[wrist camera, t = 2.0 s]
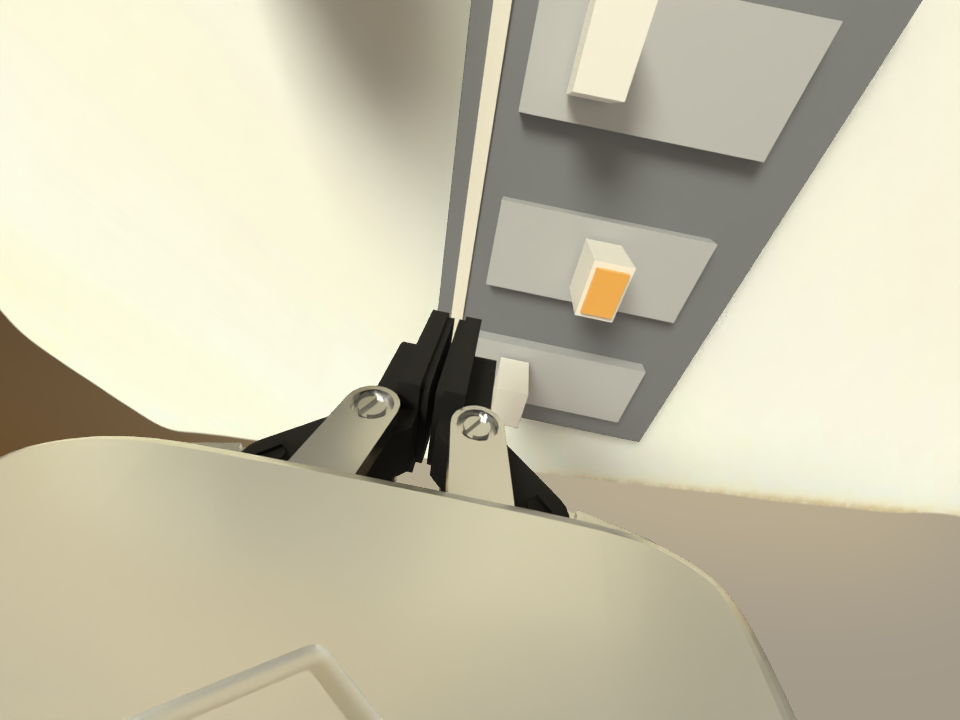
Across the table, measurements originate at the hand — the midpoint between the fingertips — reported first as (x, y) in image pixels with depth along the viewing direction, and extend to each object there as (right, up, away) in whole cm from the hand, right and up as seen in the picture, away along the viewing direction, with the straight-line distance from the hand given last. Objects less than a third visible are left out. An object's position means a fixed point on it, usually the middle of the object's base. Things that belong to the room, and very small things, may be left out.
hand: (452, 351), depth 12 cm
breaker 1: (+3, -1, +14) cm, 14 cm away
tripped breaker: (+8, +5, +8) cm, 12 cm away
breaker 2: (+6, +13, +3) cm, 15 cm away
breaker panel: (+8, +7, +11) cm, 15 cm away
